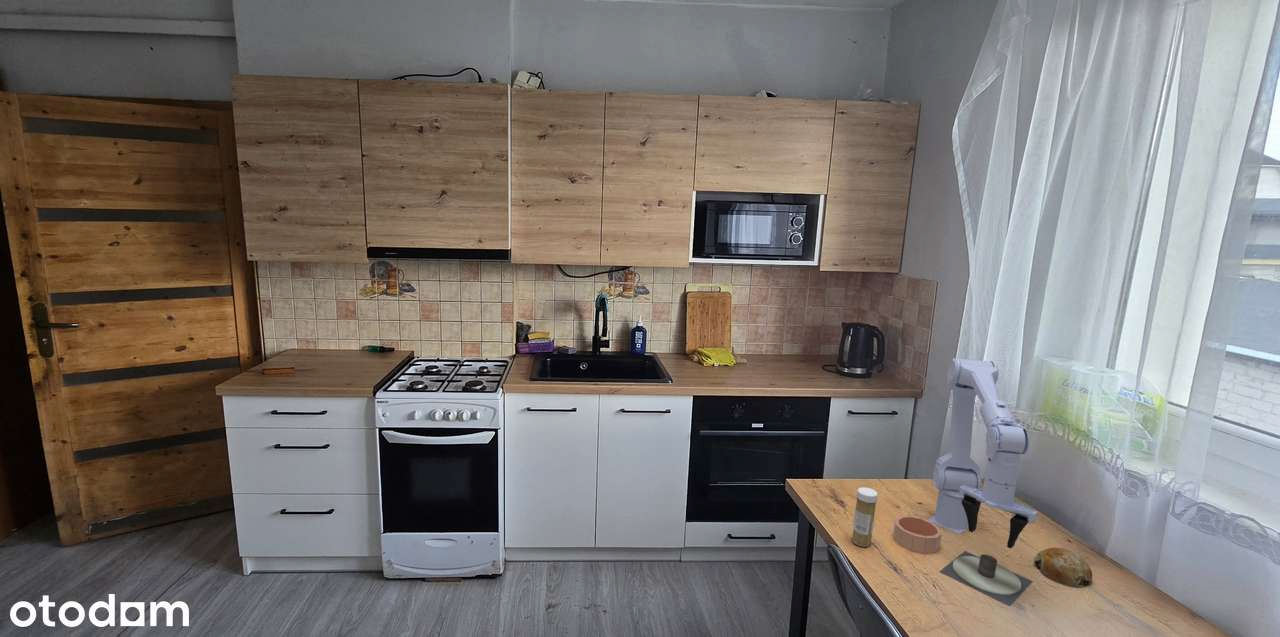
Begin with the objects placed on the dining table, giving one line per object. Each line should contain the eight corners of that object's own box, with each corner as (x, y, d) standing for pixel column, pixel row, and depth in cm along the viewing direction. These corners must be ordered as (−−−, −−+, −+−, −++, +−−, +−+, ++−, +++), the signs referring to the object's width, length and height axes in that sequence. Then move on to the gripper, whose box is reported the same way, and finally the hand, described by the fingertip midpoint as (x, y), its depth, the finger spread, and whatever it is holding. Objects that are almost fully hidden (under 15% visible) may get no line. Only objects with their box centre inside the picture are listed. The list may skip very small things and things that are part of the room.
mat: (964, 552, 136) (965, 550, 136) (1032, 583, 125) (1032, 581, 125) (938, 573, 127) (939, 571, 127) (1009, 608, 116) (1009, 606, 116)
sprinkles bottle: (875, 544, 137) (882, 492, 135) (863, 550, 135) (870, 497, 132) (858, 535, 141) (865, 484, 139) (847, 540, 138) (853, 489, 136)
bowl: (904, 527, 146) (907, 511, 145) (945, 546, 138) (948, 529, 137) (885, 540, 139) (887, 523, 139) (926, 560, 132) (929, 542, 131)
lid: (966, 552, 135) (969, 535, 134) (1029, 580, 125) (1032, 563, 124) (942, 571, 127) (945, 554, 126) (1007, 603, 117) (1011, 584, 116)
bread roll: (1061, 604, 124) (1085, 584, 120) (1020, 563, 131) (1042, 542, 127) (1085, 592, 129) (1109, 572, 124) (1044, 553, 136) (1066, 532, 132)
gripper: (956, 471, 125) (948, 529, 127) (1033, 497, 114) (1022, 560, 116) (970, 464, 129) (961, 520, 132) (1044, 489, 118) (1034, 549, 121)
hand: (990, 538), depth 124 cm, fingers open, 7 cm apart
